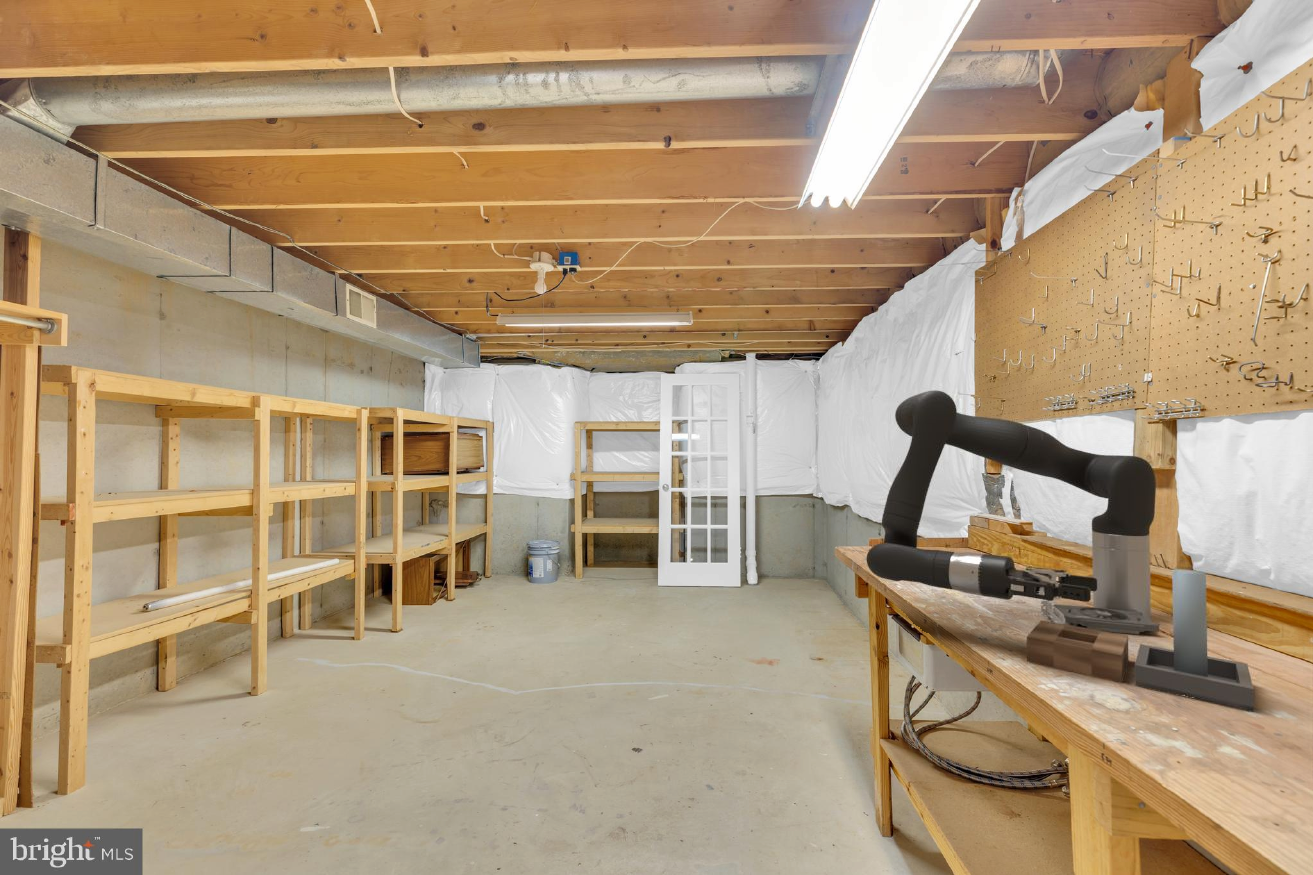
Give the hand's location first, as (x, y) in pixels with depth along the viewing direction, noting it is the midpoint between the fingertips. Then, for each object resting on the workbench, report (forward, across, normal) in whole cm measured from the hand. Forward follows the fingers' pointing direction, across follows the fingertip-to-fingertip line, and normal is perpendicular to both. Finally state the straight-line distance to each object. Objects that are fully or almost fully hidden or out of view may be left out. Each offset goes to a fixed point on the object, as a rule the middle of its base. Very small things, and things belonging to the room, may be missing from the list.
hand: (1093, 589), depth 91 cm
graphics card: (-2, +24, +13) cm, 27 cm away
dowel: (+11, 0, +11) cm, 16 cm away
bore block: (-2, 0, +12) cm, 12 cm away
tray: (+11, 0, +12) cm, 16 cm away
